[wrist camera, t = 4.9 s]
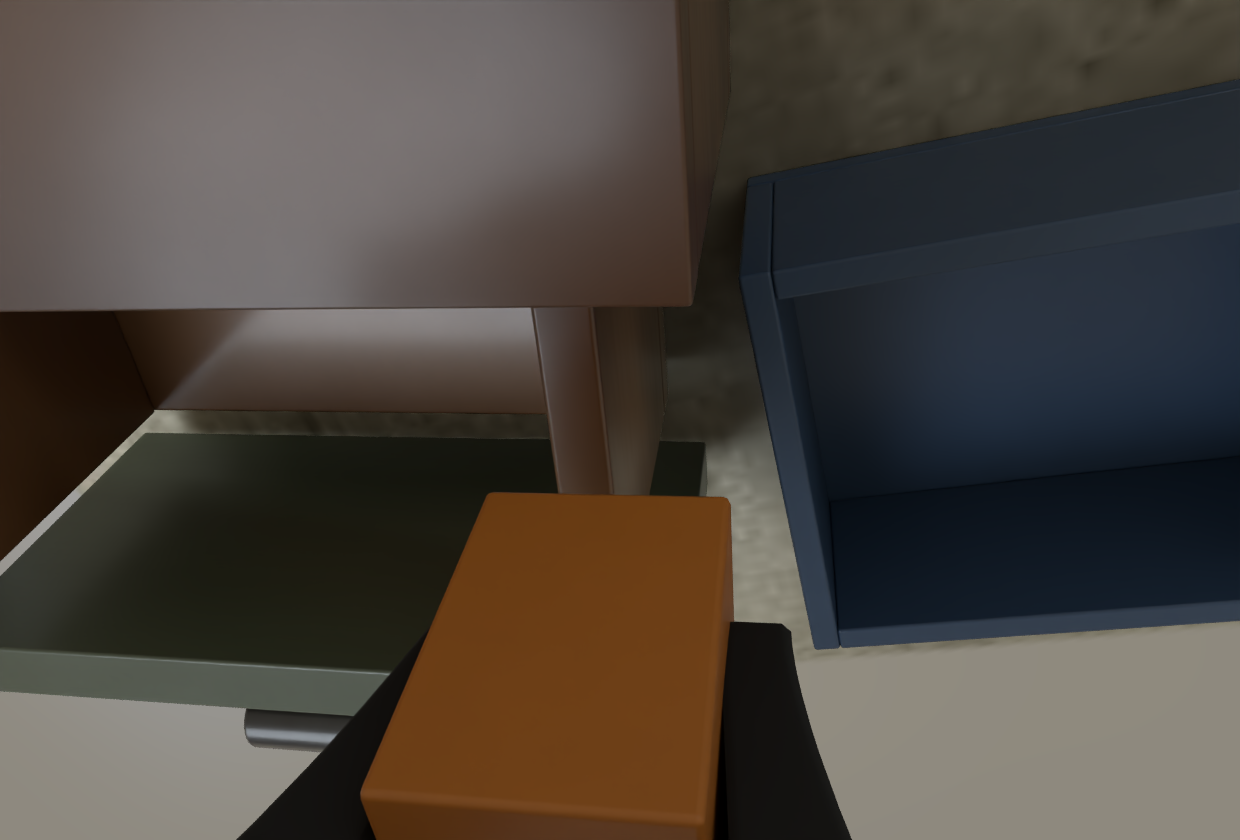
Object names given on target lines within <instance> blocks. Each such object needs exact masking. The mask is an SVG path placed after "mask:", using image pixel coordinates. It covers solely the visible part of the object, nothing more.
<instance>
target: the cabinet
mask: <svg viewBox="0 0 1240 840" xmlns="http://www.w3.org/2000/svg"><path fill="white" fill-rule="evenodd" d="M730 92H731V81H730V16H729V0H0V312H40V311H168V310H296V309H425V308H553V307H681V306H691V305H692V303H693V299H694V293H695V287H696V282H697V276H698V266H699V261H700V256H701V250H702V245H703V239H704V234H705V228H706V223H707V218H708V212H709V207H710V201H711V196H712V190H713V185H714V179H715V174H716V168H717V163H718V157H719V152H720V146H721V141H722V135H723V130H724V124H725V119H726V113H727V108H728V102H729V98H730Z"/></svg>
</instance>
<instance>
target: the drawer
mask: <svg viewBox="0 0 1240 840" xmlns="http://www.w3.org/2000/svg"><path fill="white" fill-rule="evenodd" d="M667 400H668V381H667V364H666V348H665V332H664V315H663V307H553V308H425V309H296V310H168V311H40V312H0V561H1V560H2V559H3V558H4V557H5V556H6V555H7V554H8V553H9V552H10V551H11V550H12V549H14V547H15V546H17V545H18V544H19V543H20V542H21V541H22V539H24V538H25V537H26V536H27V535H28V534H29V533H30V532H31V531H32V530H33V529H34V528H35V527H36V526H37V525H38V524H39V523H40V522H41V521H42V520H43V519H44V518H46V517H47V516H48V514H50V513H51V512H52V511H53V510H54V509H55V508H56V507H57V506H58V505H59V504H60V503H61V502H62V501H63V500H64V499H65V498H66V497H67V496H68V495H69V494H70V493H71V492H72V491H73V490H74V489H75V488H76V487H77V486H79V485H80V484H81V483H82V482H83V481H84V480H85V479H86V478H87V477H88V476H89V475H90V474H91V473H92V472H93V471H94V470H95V469H96V468H97V467H98V466H99V465H100V464H101V463H102V462H103V461H104V460H105V459H106V458H107V457H108V456H109V455H110V454H111V453H113V452H114V451H115V450H116V449H117V448H118V447H119V446H120V445H121V444H122V443H123V442H124V441H125V440H126V439H127V438H128V437H129V436H130V435H131V434H132V433H133V432H134V431H135V430H136V429H137V428H138V427H139V426H140V425H141V424H142V423H143V422H144V421H145V420H147V419H148V418H149V417H150V416H151V415H152V414H153V413H154V410H211V411H296V412H380V413H465V414H546V415H547V422H548V429H549V436H550V439H490V438H429V437H368V436H307V435H246V434H185V433H145V434H144V435H143V436H142V437H141V438H140V439H139V440H138V441H137V442H135V443H134V444H133V445H132V446H131V447H130V448H129V449H128V450H127V451H126V452H125V453H124V454H123V455H122V456H121V457H120V458H119V459H118V460H117V461H116V462H115V463H114V464H113V465H112V466H111V467H110V468H109V469H108V470H107V471H106V472H105V473H104V474H103V475H102V476H101V477H100V478H99V479H98V480H97V481H96V482H95V483H94V484H93V485H92V486H91V487H90V488H89V489H88V490H87V491H86V492H85V493H84V494H83V495H82V496H81V497H80V498H79V499H78V500H77V501H76V502H75V503H74V504H73V505H72V506H71V507H70V508H69V509H68V510H67V511H66V512H65V513H64V514H63V515H62V516H61V517H60V518H59V519H58V520H57V521H56V522H55V523H54V524H53V525H52V526H51V527H50V528H49V529H48V530H47V531H46V532H45V533H44V534H43V535H41V537H39V538H38V539H37V540H36V541H35V542H34V544H32V545H31V546H30V548H28V549H27V550H26V551H25V552H24V554H22V555H21V556H20V557H19V558H18V559H17V560H16V561H15V562H14V563H13V564H12V565H11V566H10V567H9V568H8V569H7V570H6V571H5V572H4V573H3V574H2V575H1V576H0V691H4V692H5V691H6V692H19V693H34V694H48V695H63V696H77V697H91V698H105V699H120V700H134V701H148V702H163V703H177V704H192V705H206V706H220V707H235V708H236V707H237V708H246V713H245V719H244V729H245V735H246V738H247V740H248V742H249V743H250V744H251V745H253V746H254V747H259V748H273V749H287V750H299V751H312V752H322V751H323V750H324V749H325V748H326V746H327V745H328V744H329V743H330V742H331V741H332V740H333V739H334V737H335V736H336V735H337V734H338V733H339V732H340V731H341V730H342V728H343V727H344V726H345V725H346V724H347V723H348V722H349V721H350V719H351V718H352V717H353V716H354V715H355V714H356V713H357V712H358V710H359V709H360V708H361V707H362V706H363V705H364V704H365V703H366V701H367V700H368V699H369V698H370V697H371V696H372V694H373V693H374V692H375V691H376V690H377V688H378V687H379V686H380V685H381V684H382V683H383V681H384V680H385V679H386V678H387V677H388V676H389V674H390V673H391V672H392V671H393V670H394V668H395V667H396V666H397V665H398V664H399V662H400V661H401V660H402V659H403V658H404V656H405V655H406V654H407V653H408V652H409V650H410V649H411V648H412V647H413V646H414V644H415V643H416V642H417V641H418V639H419V638H420V637H421V636H422V635H423V633H424V632H425V631H426V630H427V629H428V627H429V626H430V625H431V624H432V622H433V620H434V618H435V615H436V613H437V611H438V608H439V606H440V604H441V601H442V599H443V597H444V594H445V592H446V590H447V587H448V585H449V583H450V580H451V578H452V576H453V573H454V571H455V569H456V566H457V564H458V562H459V559H460V557H461V555H462V552H463V550H464V548H465V545H466V543H467V541H468V538H469V536H470V534H471V531H472V529H473V527H474V524H475V522H476V520H477V517H478V515H479V513H480V510H481V508H482V506H483V503H484V501H485V498H486V496H487V495H488V494H489V493H492V492H509V493H557V494H605V495H653V496H702V497H706V492H707V462H706V444H705V443H704V442H673V441H660V437H661V431H662V426H663V421H664V413H665V410H666V405H667Z"/></svg>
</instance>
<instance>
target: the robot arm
mask: <svg viewBox="0 0 1240 840" xmlns="http://www.w3.org/2000/svg"><path fill="white" fill-rule="evenodd" d="M431 625H432V624H431ZM431 625H430V626H429V627H428V629H427V630H426V631H425V632H424V633H423V635H422V636H421V637H420V638H419V639H418V641H417V642H416V643H415V644H414V646H413V647H412V648H411V649H410V650H409V652H408V653H407V654H406V655H405V656H404V658H403V659H402V660H401V661H400V662H399V664H398V665H397V666H396V667H395V668H394V670H393V671H392V672H391V673H390V674H389V676H388V677H387V678H386V679H385V680H384V681H383V683H382V684H381V685H380V686H379V687H378V688H377V690H376V691H375V692H374V693H373V694H372V696H371V697H370V698H369V699H368V700H367V701H366V703H365V704H364V705H363V706H362V707H361V708H360V709H359V710H358V712H357V713H356V714H355V715H354V716H353V717H352V718H351V719H350V721H349V722H348V723H347V724H346V725H345V726H344V727H343V728H342V730H341V731H340V732H339V733H338V734H337V735H336V736H335V737H334V739H333V740H332V741H331V742H330V743H329V744H328V745H327V746H326V748H325V749H324V750H323V751H322V752H321V753H320V754H319V755H318V756H317V758H316V759H315V760H314V761H313V762H312V763H311V764H310V765H309V766H308V767H307V768H306V769H305V770H304V771H303V772H302V773H301V774H300V776H299V777H298V778H297V779H296V780H295V781H294V782H293V783H292V784H291V785H290V786H289V787H288V788H287V789H286V790H285V791H284V792H283V793H282V794H281V795H280V796H279V797H278V798H277V799H276V800H275V801H274V802H273V803H272V804H271V805H270V806H269V807H268V809H267V810H266V811H265V812H264V813H263V814H262V815H261V816H260V817H259V818H258V819H257V820H256V821H255V822H254V823H253V824H252V825H251V826H250V827H249V828H248V829H247V830H246V831H245V832H244V833H243V834H242V835H241V836H240V837H239V838H237V840H376V837H375V835H374V832H373V830H372V827H371V825H370V822H369V820H368V817H367V814H366V812H365V809H364V807H363V804H362V802H361V794H360V792H361V788H362V786H363V784H364V781H365V779H366V777H367V774H368V772H369V770H370V767H371V765H372V763H373V760H374V758H375V756H376V753H377V751H378V749H379V746H380V744H381V742H382V739H383V737H384V735H385V732H386V730H387V728H388V725H389V723H390V721H391V718H392V716H393V714H394V711H395V709H396V706H397V704H398V702H399V699H400V697H401V695H402V692H403V690H404V688H405V685H406V683H407V681H408V678H409V676H410V674H411V671H412V669H413V667H414V664H415V662H416V660H417V657H418V655H419V653H420V650H421V648H422V646H423V643H424V641H425V639H426V636H427V634H428V632H429V629H430V627H431ZM723 721H724V745H725V770H726V794H727V818H728V840H852V839H851V836H850V834H849V831H848V829H847V826H846V824H845V821H844V819H843V816H842V814H841V811H840V809H839V807H838V804H837V801H836V798H835V795H834V792H833V790H832V787H831V784H830V781H829V779H828V776H827V773H826V770H825V768H824V765H823V762H822V759H821V757H820V754H819V751H818V748H817V744H816V741H815V738H814V736H813V732H812V729H811V725H810V722H809V719H808V715H807V711H806V708H805V704H804V701H803V697H802V693H801V689H800V685H799V681H798V676H797V671H796V666H795V660H794V654H793V648H792V636H791V631H790V630H788V629H787V628H786V627H785V626H784V625H782V624H776V623H753V622H730V628H729V637H728V647H727V657H726V668H725V678H724V690H723Z"/></svg>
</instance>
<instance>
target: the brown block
mask: <svg viewBox="0 0 1240 840" xmlns="http://www.w3.org/2000/svg"><path fill="white" fill-rule="evenodd" d="M730 622H734V604H733V570H732V536H731V505H730V503H729V501H728V499H727V498H725V497H702V496H653V495H605V494H557V493H509V492H492V493H489V494H488V495H487V496H486V498H485V501H484V503H483V506H482V508H481V510H480V513H479V515H478V517H477V520H476V522H475V524H474V527H473V529H472V531H471V534H470V536H469V538H468V541H467V543H466V545H465V548H464V550H463V552H462V555H461V557H460V559H459V562H458V564H457V566H456V569H455V571H454V573H453V576H452V578H451V580H450V583H449V585H448V587H447V590H446V592H445V594H444V597H443V599H442V601H441V604H440V606H439V608H438V611H437V613H436V615H435V618H434V620H433V622H432V625H431V627H430V629H429V632H428V634H427V636H426V639H425V641H424V643H423V646H422V648H421V650H420V653H419V655H418V657H417V660H416V662H415V664H414V667H413V669H412V671H411V674H410V676H409V678H408V681H407V683H406V685H405V688H404V690H403V692H402V695H401V697H400V699H399V702H398V704H397V706H396V709H395V711H394V714H393V716H392V718H391V721H390V723H389V725H388V728H387V730H386V732H385V735H384V737H383V739H382V742H381V744H380V746H379V749H378V751H377V753H376V756H375V758H374V760H373V763H372V765H371V767H370V770H369V772H368V774H367V777H366V779H365V781H364V784H363V786H362V788H361V792H360V794H361V802H362V804H363V807H364V809H365V812H366V814H367V817H368V820H369V822H370V825H371V827H372V830H373V832H374V835H375V837H376V840H728V818H727V794H726V770H725V745H724V721H723V690H724V678H725V668H726V657H727V647H728V637H729V628H730Z"/></svg>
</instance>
